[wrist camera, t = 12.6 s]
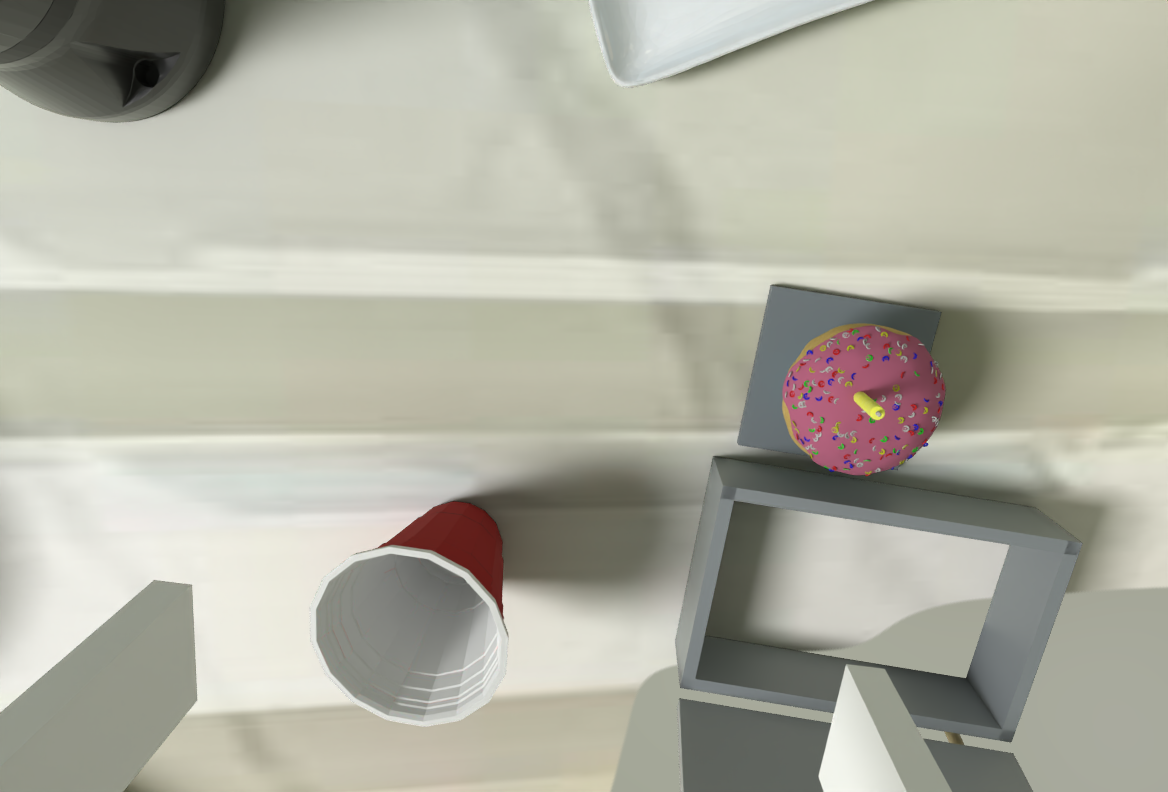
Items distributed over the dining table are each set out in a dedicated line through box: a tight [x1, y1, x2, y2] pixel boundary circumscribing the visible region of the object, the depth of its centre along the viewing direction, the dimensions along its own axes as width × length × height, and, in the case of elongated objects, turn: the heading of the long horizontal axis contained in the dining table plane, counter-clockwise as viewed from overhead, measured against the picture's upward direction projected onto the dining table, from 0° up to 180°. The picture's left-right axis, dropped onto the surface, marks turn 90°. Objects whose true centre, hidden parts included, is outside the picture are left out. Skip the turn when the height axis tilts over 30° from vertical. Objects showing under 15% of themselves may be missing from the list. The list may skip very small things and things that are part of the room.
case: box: [675, 456, 1083, 745], centre depth 41 cm, size 18×21×17 cm
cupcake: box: [782, 323, 946, 476], centre depth 39 cm, size 9×8×12 cm
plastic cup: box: [310, 501, 508, 727], centre depth 44 cm, size 11×11×12 cm
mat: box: [737, 285, 941, 470], centre depth 45 cm, size 10×10×1 cm
